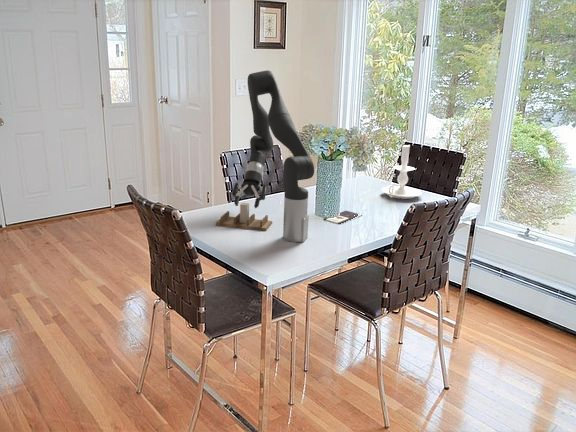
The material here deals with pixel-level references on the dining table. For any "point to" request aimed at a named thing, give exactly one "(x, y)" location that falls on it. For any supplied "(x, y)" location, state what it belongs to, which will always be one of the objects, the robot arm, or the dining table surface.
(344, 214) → the chocolate bar
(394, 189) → the candlestick
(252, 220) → the drying rack
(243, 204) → the clay bar
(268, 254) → the dining table surface
